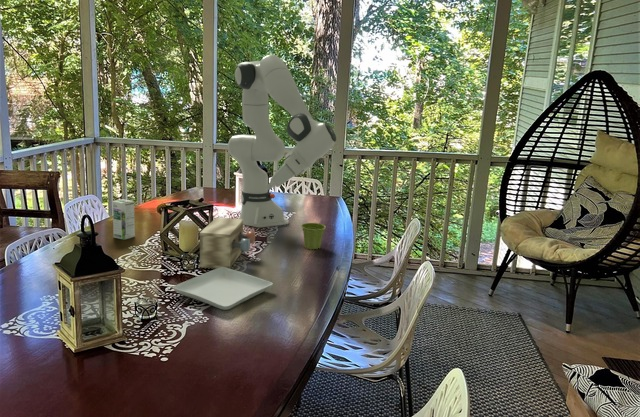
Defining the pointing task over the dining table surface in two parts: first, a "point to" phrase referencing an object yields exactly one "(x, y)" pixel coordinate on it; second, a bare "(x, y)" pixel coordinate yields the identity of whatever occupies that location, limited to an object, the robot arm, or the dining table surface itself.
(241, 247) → the blue grey rounded piece
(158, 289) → the dining table surface
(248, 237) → the button brick
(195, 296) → the salad plate
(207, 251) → the cardboard box
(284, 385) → the dining table surface
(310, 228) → the plant pot
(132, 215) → the syrup box
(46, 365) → the dining table surface
